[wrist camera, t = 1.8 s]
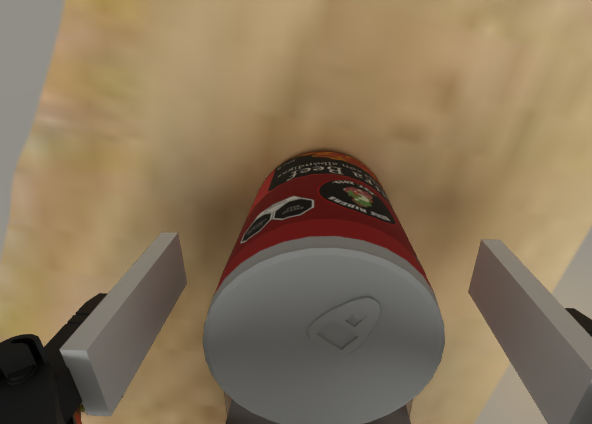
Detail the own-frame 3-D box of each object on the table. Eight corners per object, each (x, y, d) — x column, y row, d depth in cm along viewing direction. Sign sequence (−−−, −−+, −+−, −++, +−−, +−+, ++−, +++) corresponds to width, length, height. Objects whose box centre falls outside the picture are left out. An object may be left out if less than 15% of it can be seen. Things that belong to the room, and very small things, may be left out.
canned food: (408, 176, 20) (501, 302, 10) (347, 281, 23) (371, 456, 13) (283, 124, 19) (246, 203, 9) (239, 241, 22) (175, 395, 12)
